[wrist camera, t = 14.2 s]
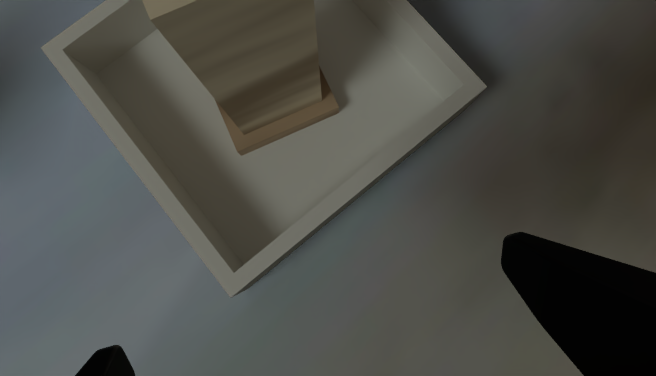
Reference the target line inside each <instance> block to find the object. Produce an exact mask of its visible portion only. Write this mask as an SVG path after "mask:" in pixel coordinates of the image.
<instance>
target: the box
mask: <svg viewBox="0 0 656 376" xmlns="http://www.w3.org/2000/svg"><path fill="white" fill-rule="evenodd" d="M314 7H315V20H316V32H317V45H318V57H319V66H320V68H321V70H322V72H323V74H324V77H325V79H326V81H327V83H328V85H329V87H330V89H331V91H332V93H333V96H334V98H335V100H336V102H337V104H338V106H339V113H338V114H336V115H333V116H331V117H329V118H327V119H324V120H322V121H320V122H317V123H315V124H313V125H311V126H308V127H306V128H304V129H302V130H299V131H297V132H295V133H292V134H290V135H288V136H286V137H283V138H281V139H279V140H277V141H274V142H272V143H270V144H267V145H265V146H263V147H261V148H258V149H256V150H254V151H252V152H249V153H247V154H245V155H242V156H241V155H240V154H239V153H238V152H237V150H236V148H235V146H234V143H233V141H232V139H231V136H230V134H229V132H228V129H227V127H226V125H225V122H224V120H223V118H222V115H221V113H220V111H219V108H218V106H217V104H216V101H215V99H214V97H213V96H212V95H211V94H210V93H209V91H208V90H207V89H206V88H205V86H204V85H203V84H202V83H201V82H200V80H199V79H198V78H197V77H196V75H195V74H194V73H193V72H192V70H191V69H190V68H189V67H188V66H187V64H186V63H185V62H184V61H183V59H182V58H181V57H180V56H179V55H178V53H177V52H176V51H175V50H174V48H173V47H172V46H171V45H170V44H169V42H168V41H167V40H166V39H165V37H164V36H163V35H162V34H161V33H160V31H159V30H158V29H157V28H156V26H155V25H154V24H153V23H152V21H151V20H150V18H149V16H148V13H147V11H146V9H145V6H144V4H143V1H142V0H106V1H104V2H103V3H102V4H100V5H99V6H97V7H96V8H95V9H93V10H92V11H91V12H89V13H88V14H86V15H85V16H84V17H82V18H81V19H80V20H78V21H77V22H75V23H74V24H73V25H71V26H70V27H68V28H67V29H66V30H64V31H63V32H62V33H60V34H59V35H57V36H56V37H55V38H53V39H52V40H50V41H49V42H48V43H46V44H45V45H44V46H42V47H41V49H42V50H43V52H44V53H45V54H46V56H47V57H48V58H49V60H50V61H51V62H52V63H53V65H54V66H55V67H56V69H57V70H58V71H59V73H60V74H61V75H62V77H63V78H64V79H65V81H66V82H67V83H68V85H69V86H70V87H71V88H72V90H73V91H74V92H75V94H76V95H77V96H78V98H79V99H80V100H81V102H82V103H83V104H84V106H85V107H86V108H87V110H88V111H89V112H90V113H91V115H92V116H93V117H94V119H95V120H96V121H97V123H98V124H99V125H100V127H101V128H102V129H103V131H104V132H105V133H106V135H107V136H108V137H109V138H110V140H111V141H112V142H113V144H114V145H115V146H116V148H117V149H118V150H119V152H120V153H121V154H122V156H123V157H124V158H125V160H126V161H127V162H128V163H129V165H130V166H131V167H132V169H133V170H134V171H135V173H136V174H137V175H138V177H139V178H140V179H141V181H142V182H143V183H144V185H145V186H146V187H147V188H148V190H149V191H150V192H151V194H152V195H153V196H154V198H155V199H156V200H157V202H158V203H159V204H160V206H161V207H162V208H163V210H164V211H165V212H166V213H167V215H168V216H169V217H170V219H171V220H172V221H173V223H174V224H175V225H176V227H177V228H178V229H179V231H180V232H181V233H182V235H183V236H184V237H185V238H186V240H187V241H188V242H189V244H190V245H191V246H192V248H193V249H194V250H195V252H196V253H197V254H198V256H199V257H200V258H201V260H202V261H203V262H204V263H205V265H206V266H207V267H208V269H209V270H210V271H211V273H212V274H213V275H214V277H215V278H216V279H217V281H218V282H219V283H220V285H221V286H222V287H223V288H224V290H225V291H226V292H227V294H228V295H229V296H230V298H231V297H233V296H235V295H237V294H239V293H241V292H243V291H245V290H247V289H248V288H249V287H250V286H252V285H253V284H254V283H255V282H257V281H258V280H259V279H260V278H261V277H263V276H264V275H265V274H266V273H267V272H269V271H270V270H271V269H272V268H273V267H275V266H276V265H277V264H278V263H280V262H281V261H282V260H283V259H284V258H286V257H287V256H288V255H289V254H290V253H292V252H293V251H294V250H295V249H297V248H298V247H299V246H300V245H301V244H303V243H304V242H305V241H306V240H307V239H309V238H310V237H311V236H312V235H314V234H315V233H316V232H317V231H318V230H320V229H321V228H322V227H323V226H324V225H326V224H327V223H328V222H329V221H331V220H332V219H333V218H334V217H335V216H337V215H338V214H339V213H340V212H341V211H343V210H344V209H345V208H346V207H348V206H349V205H350V204H351V203H352V202H354V201H355V200H356V199H357V198H358V197H360V196H361V195H362V194H363V193H365V192H366V191H367V190H368V189H369V188H371V187H372V186H373V185H374V184H375V183H377V182H378V181H379V180H380V179H381V178H383V177H384V176H385V175H386V174H388V173H389V172H390V171H391V170H392V169H394V168H395V167H396V166H397V165H398V164H400V163H401V162H402V161H403V160H405V159H406V158H407V157H408V156H409V155H411V154H412V153H413V152H414V151H415V150H417V149H418V148H419V147H420V146H422V145H423V144H424V143H425V142H426V141H428V140H429V139H430V138H431V137H432V136H434V135H435V134H436V133H437V132H439V131H440V130H441V129H442V128H443V127H445V126H446V125H447V124H448V123H449V122H451V121H452V120H453V119H454V118H456V117H457V116H458V115H459V114H460V113H462V112H463V111H464V110H465V109H466V108H467V107H468V106H469V105H470V104H471V103H472V102H473V101H474V100H475V99H476V98H477V97H478V96H479V95H480V94H481V93H482V92H483V91H484V90H485V89H486V87H487V86H486V85H485V84H484V83H483V82H482V81H481V79H480V78H479V77H478V76H477V75H476V74H475V73H474V72H473V71H472V70H471V69H470V68H469V67H468V65H467V64H466V63H465V62H464V61H463V60H462V59H461V58H460V57H459V56H458V55H457V54H456V53H455V51H454V50H453V49H452V48H451V47H450V46H449V45H448V44H447V43H446V42H445V41H444V40H443V39H442V38H441V36H440V35H439V34H438V33H437V32H436V31H435V30H434V29H433V28H432V27H431V26H430V25H429V24H428V22H427V21H426V20H425V19H424V18H423V17H422V16H421V15H420V14H419V13H418V12H417V11H416V10H415V8H414V7H413V6H412V5H411V4H410V3H409V2H408V1H407V0H314Z"/></svg>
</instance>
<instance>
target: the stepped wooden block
mask: <svg viewBox="0 0 656 376" xmlns="http://www.w3.org/2000/svg"><path fill="white" fill-rule="evenodd" d="M142 1H143V4H144V6H145V9H146V11H147V13H148V16H149V18H150V20H151V21H152V23H153V24H154V25H155V26H156V28H157V29H158V30H159V31H160V33H161V34H162V35H163V36H164V37H165V39H166V40H167V41H168V42H169V44H170V45H171V46H172V47H173V48H174V50H175V51H176V52H177V53H178V55H179V56H180V57H181V58H182V59H183V61H184V62H185V63H186V64H187V66H188V67H189V68H190V69H191V70H192V72H193V73H194V74H195V75H196V77H197V78H198V79H199V80H200V82H201V83H202V84H203V85H204V86H205V88H206V89H207V90H208V91H209V93H210V94H211V95H212V96H213V97H214V99H215V101H216V104H217V106H218V108H219V111H220V113H221V115H222V118H223V120H224V122H225V125H226V127H227V129H228V132H229V134H230V136H231V139H232V141H233V143H234V146H235V148H236V150H237V152H238V153H239V154H240V155H241V156H242V155H245V154H247V153H249V152H252V151H254V150H256V149H258V148H261V147H263V146H265V145H267V144H270V143H272V142H274V141H277V140H279V139H281V138H283V137H286V136H288V135H290V134H292V133H295V132H297V131H299V130H302V129H304V128H306V127H308V126H311V125H313V124H315V123H317V122H320V121H322V120H324V119H327V118H329V117H331V116H333V115H336V114H338V113H339V106H338V104H337V102H336V100H335V98H334V96H333V93H332V91H331V89H330V87H329V85H328V83H327V81H326V79H325V77H324V74H323V72H322V70H321V68H320V66H319V57H318V45H317V32H316V20H315V7H314V0H142Z"/></svg>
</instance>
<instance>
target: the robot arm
mask: <svg viewBox="0 0 656 376" xmlns="http://www.w3.org/2000/svg"><path fill="white" fill-rule="evenodd" d="M501 266H502V269H503V271H504V273H505V274H506V276H507V277H508V278H509V280H510V281H511V283H512V284H513V286H514V287H515V289H516V290H517V291H518V293H519V294H520V296H521V297H522V299H523V300H524V302H525V303H526V304H527V306H528V307H529V309H530V310H531V312H532V313H533V315H534V316H535V317H536V319H537V320H538V321H539V323H540V324H541V325H542V326H543V328H544V329H545V330H546V331H547V333H548V334H549V335H550V336H551V337H552V339H553V340H554V341H555V342H556V343H557V344H558V346H559V347H560V348H561V349H562V350H563V352H564V353H565V354H566V355H567V356H568V357H569V359H570V360H571V361H572V362H573V363H574V365H575V366H576V367H577V368H578V369H579V370H580V372H581V373H582V374H583V375H584V376H656V273H654V272H651V271H648V270H644V269H641V268H638V267H635V266H631V265H628V264H625V263H622V262H618V261H615V260H612V259H609V258H605V257H602V256H599V255H596V254H592V253H589V252H586V251H582V250H579V249H576V248H573V247H569V246H566V245H563V244H560V243H556V242H553V241H550V240H547V239H543V238H540V237H537V236H534V235H530V234H527V233H524V232H517V233H514V234H510V235H507V236H506V237H505V238H504V240H503V248H502V256H501ZM75 376H135V373H134V370H133V368H132V366H131V364H130V362H129V360H128V358H127V356H126V354H125V352H124V351H123V349H122V347H121V346H119V345H113V346H110V347H106V348H103V349H100V350H97V351H96V352H95V353H94V354H93V355H92V356H91V358H90V359H89V360H88V361H87V362H86V363H85V365H84V366H83V367H82V368H81V369H80V370H79V372H78V373H77V374H76V375H75Z"/></svg>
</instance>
